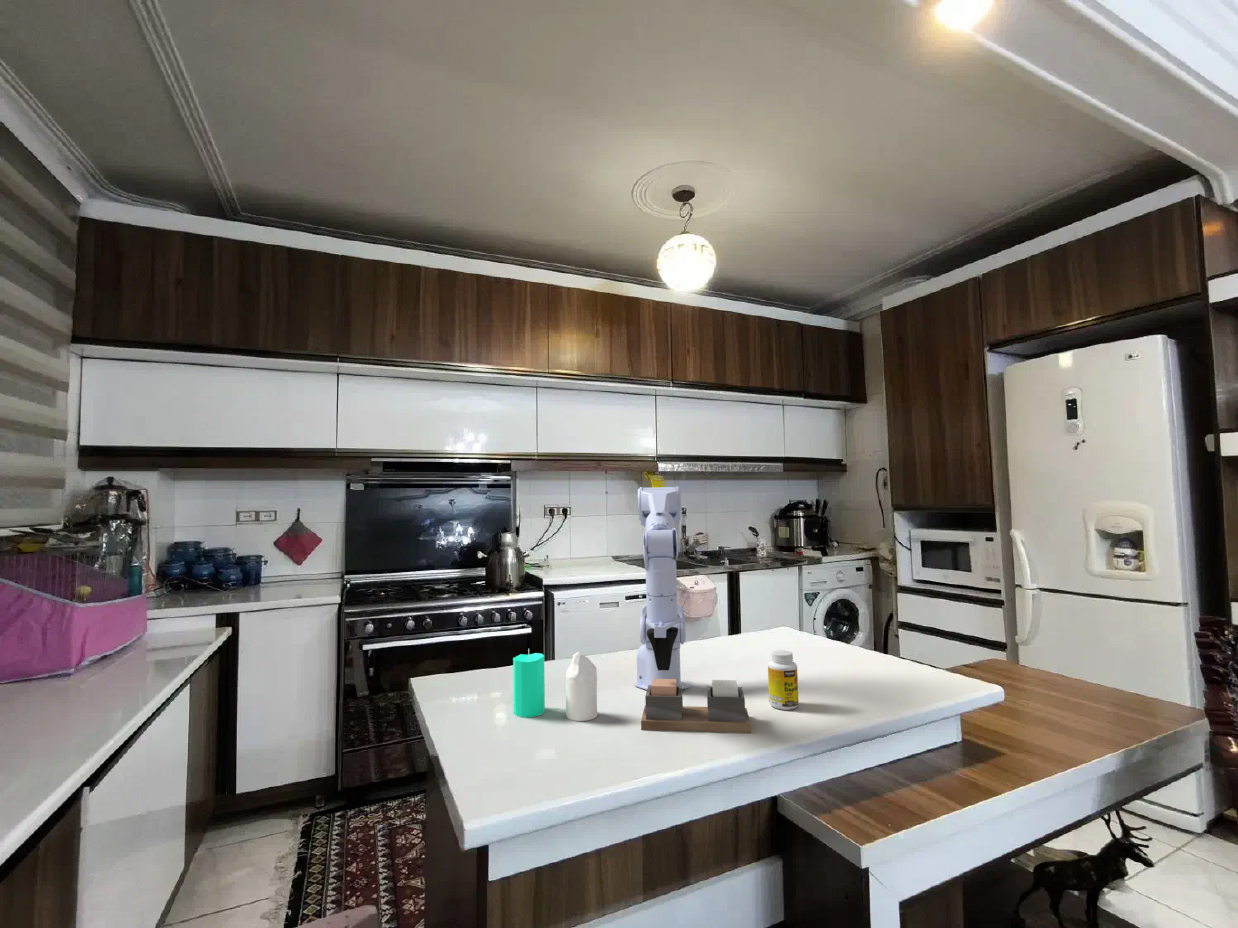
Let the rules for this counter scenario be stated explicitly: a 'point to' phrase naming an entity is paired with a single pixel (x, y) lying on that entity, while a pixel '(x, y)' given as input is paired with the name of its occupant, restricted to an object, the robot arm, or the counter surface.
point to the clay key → (664, 687)
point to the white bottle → (581, 689)
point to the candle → (528, 685)
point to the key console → (696, 713)
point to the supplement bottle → (783, 681)
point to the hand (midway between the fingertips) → (663, 669)
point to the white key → (725, 688)
